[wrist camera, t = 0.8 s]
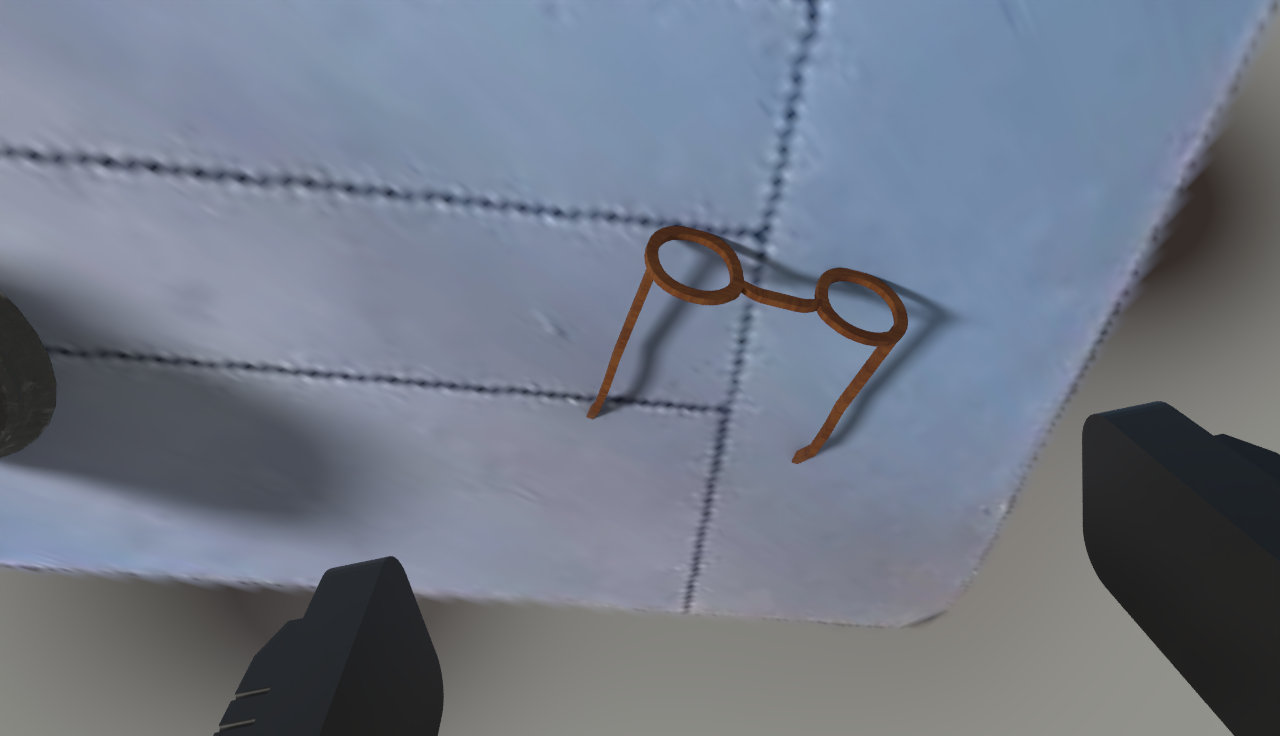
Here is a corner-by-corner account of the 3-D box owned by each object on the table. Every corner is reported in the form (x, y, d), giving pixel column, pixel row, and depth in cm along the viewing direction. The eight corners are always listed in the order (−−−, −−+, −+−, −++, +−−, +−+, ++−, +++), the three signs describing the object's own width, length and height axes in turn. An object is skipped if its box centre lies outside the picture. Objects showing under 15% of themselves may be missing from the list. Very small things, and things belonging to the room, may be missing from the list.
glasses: (898, 277, 44) (924, 335, 40) (797, 457, 52) (811, 521, 48) (648, 212, 42) (650, 267, 38) (581, 412, 49) (577, 475, 46)
